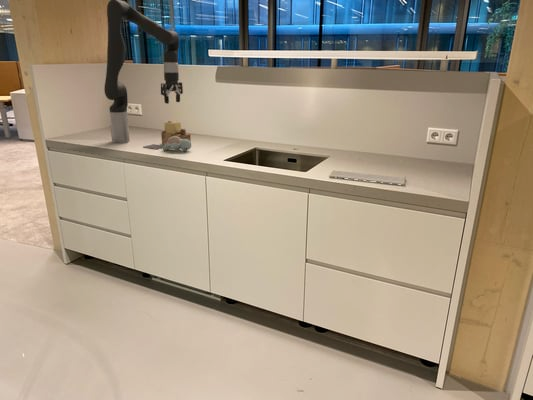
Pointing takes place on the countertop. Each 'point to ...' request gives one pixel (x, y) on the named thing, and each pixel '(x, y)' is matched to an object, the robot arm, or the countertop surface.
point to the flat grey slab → (368, 177)
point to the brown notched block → (180, 134)
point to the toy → (177, 144)
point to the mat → (154, 146)
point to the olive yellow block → (172, 127)
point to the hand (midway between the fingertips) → (172, 102)
